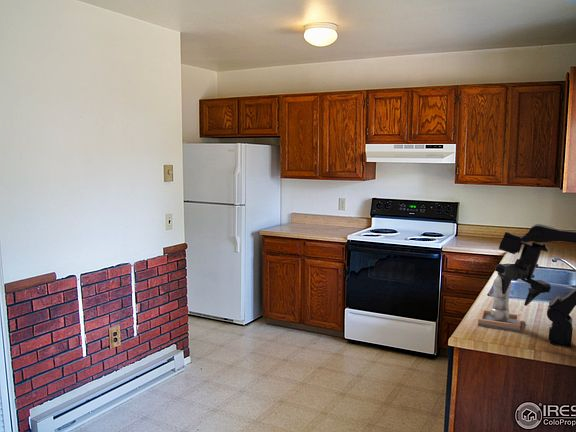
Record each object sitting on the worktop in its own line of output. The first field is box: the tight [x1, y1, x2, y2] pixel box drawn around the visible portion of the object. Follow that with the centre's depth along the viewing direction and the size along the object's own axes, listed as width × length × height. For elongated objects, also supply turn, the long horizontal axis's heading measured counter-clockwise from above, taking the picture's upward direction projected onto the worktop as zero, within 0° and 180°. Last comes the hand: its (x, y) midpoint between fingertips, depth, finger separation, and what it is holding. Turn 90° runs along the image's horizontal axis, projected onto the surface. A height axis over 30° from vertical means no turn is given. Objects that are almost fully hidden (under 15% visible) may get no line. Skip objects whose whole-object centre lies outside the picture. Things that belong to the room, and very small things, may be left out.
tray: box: [477, 308, 521, 332], centre depth 190 cm, size 14×14×2 cm
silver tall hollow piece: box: [490, 272, 513, 322], centre depth 189 cm, size 6×7×20 cm
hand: (514, 299), depth 176 cm, fingers open, 9 cm apart
